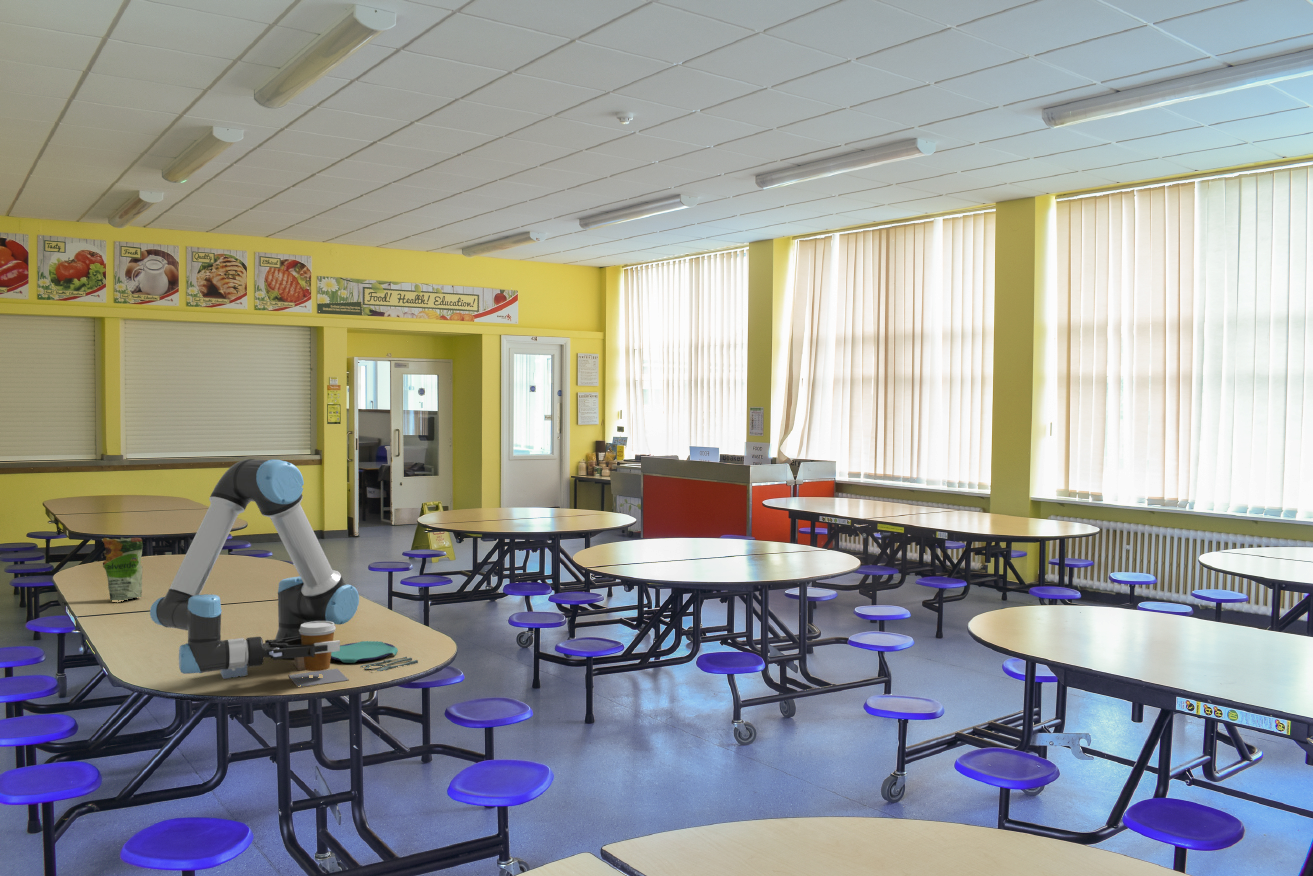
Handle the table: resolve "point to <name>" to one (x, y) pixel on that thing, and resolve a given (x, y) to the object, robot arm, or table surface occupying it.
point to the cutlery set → (369, 654)
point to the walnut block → (299, 663)
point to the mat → (328, 677)
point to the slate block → (234, 672)
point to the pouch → (123, 567)
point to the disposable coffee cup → (317, 634)
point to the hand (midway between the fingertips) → (335, 642)
